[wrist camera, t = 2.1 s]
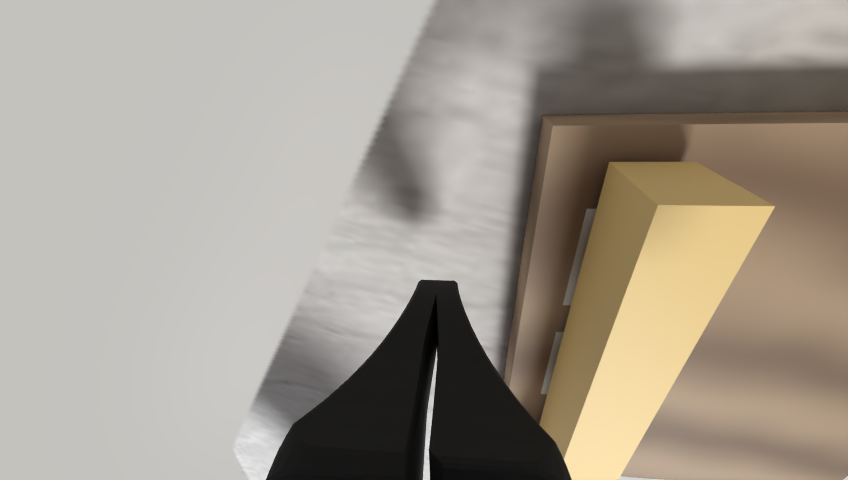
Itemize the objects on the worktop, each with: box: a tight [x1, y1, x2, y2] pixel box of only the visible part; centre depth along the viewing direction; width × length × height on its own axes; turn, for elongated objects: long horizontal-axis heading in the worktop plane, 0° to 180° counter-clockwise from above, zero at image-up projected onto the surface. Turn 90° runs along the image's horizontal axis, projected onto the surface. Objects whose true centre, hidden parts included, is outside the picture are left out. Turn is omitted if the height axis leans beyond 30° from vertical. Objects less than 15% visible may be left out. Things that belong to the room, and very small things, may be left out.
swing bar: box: [539, 162, 775, 480], centre depth 14 cm, size 18×3×3 cm, turn 2°
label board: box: [503, 111, 848, 480], centre depth 16 cm, size 21×19×2 cm
